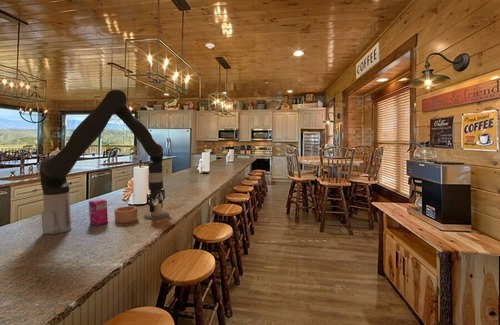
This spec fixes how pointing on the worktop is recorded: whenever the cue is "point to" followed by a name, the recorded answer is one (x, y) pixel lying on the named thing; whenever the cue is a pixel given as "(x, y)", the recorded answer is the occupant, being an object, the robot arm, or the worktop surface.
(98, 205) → the supplement box
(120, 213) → the bowl
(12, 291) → the worktop surface
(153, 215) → the lid
